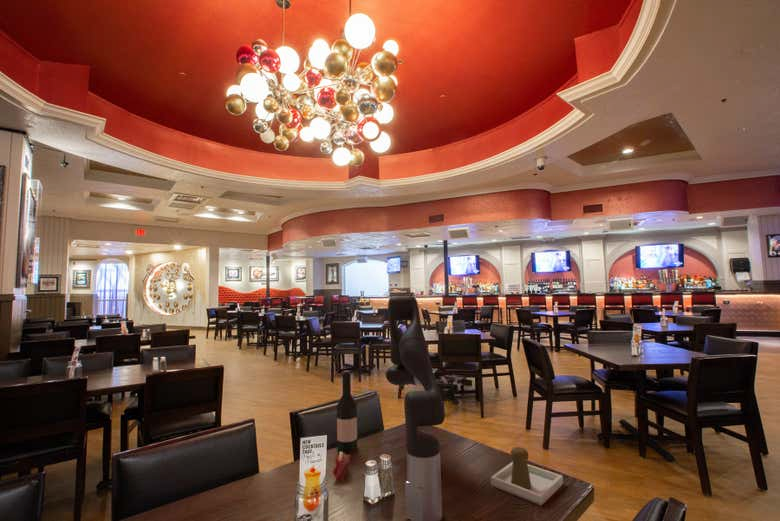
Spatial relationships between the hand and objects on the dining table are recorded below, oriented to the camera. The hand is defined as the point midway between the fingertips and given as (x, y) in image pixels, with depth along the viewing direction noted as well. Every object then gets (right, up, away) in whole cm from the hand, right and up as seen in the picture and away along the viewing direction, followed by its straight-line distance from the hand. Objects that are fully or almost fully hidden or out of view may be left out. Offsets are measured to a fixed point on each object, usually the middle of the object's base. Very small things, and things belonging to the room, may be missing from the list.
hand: (464, 385), depth 129 cm
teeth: (-47, -29, -4) cm, 56 cm away
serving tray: (+17, -27, -13) cm, 34 cm away
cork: (+14, -26, -14) cm, 33 cm away
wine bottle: (-43, -31, +16) cm, 55 cm away
